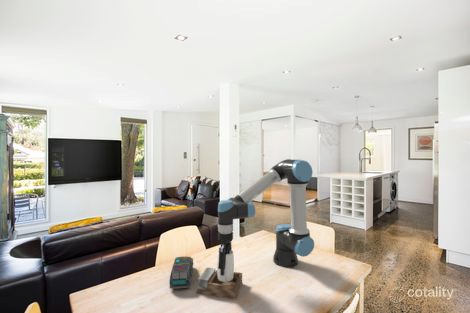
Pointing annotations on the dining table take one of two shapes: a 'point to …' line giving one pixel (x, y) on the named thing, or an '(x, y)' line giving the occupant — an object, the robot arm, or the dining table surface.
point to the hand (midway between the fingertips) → (225, 276)
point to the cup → (227, 266)
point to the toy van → (181, 272)
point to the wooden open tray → (218, 284)
